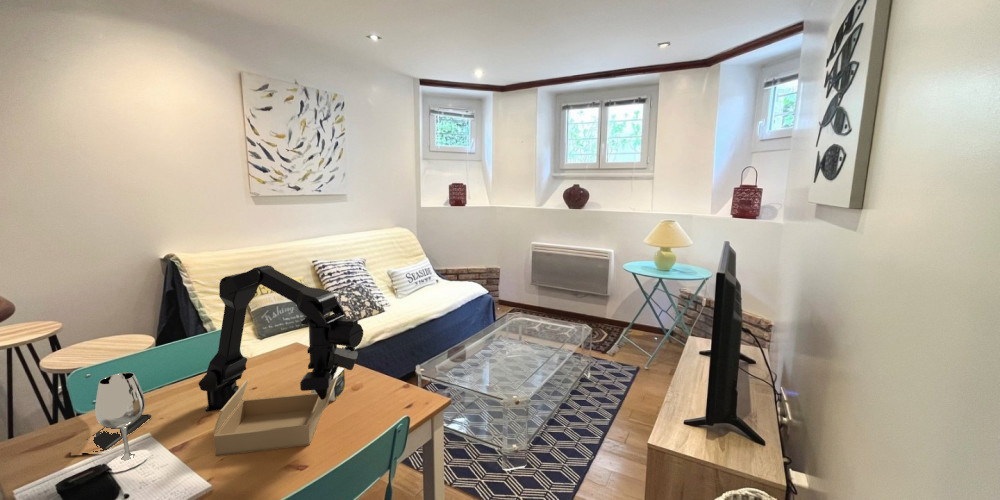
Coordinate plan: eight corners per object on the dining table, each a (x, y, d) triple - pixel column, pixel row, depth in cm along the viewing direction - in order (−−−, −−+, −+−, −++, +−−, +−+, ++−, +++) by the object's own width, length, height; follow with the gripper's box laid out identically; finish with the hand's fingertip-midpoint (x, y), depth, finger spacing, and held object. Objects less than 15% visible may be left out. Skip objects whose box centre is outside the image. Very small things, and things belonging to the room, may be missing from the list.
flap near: (214, 434, 89) (212, 434, 89) (241, 400, 103) (239, 399, 103) (222, 410, 89) (220, 410, 88) (248, 379, 103) (246, 379, 103)
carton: (215, 456, 89) (213, 436, 89) (243, 417, 105) (242, 399, 104) (309, 444, 94) (308, 425, 93) (323, 408, 109) (322, 392, 109)
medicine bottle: (335, 401, 113) (333, 362, 112) (311, 400, 114) (309, 361, 112) (345, 389, 120) (343, 352, 119) (322, 388, 121) (320, 351, 119)
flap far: (322, 392, 108) (323, 393, 108) (309, 424, 94) (310, 425, 94) (336, 376, 108) (338, 376, 109) (325, 405, 94) (327, 406, 94)
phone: (153, 414, 104) (104, 450, 89) (154, 418, 104) (105, 455, 89) (120, 415, 103) (65, 453, 88) (121, 419, 103) (66, 457, 88)
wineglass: (110, 479, 82) (97, 390, 79) (98, 465, 86) (86, 380, 83) (157, 458, 88) (146, 375, 85) (144, 445, 92) (134, 366, 89)
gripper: (350, 354, 91) (351, 415, 94) (359, 327, 109) (360, 379, 112) (298, 357, 89) (301, 420, 91) (317, 329, 107) (318, 382, 109)
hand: (323, 398), depth 101 cm, fingers closed, pressing on flap far
